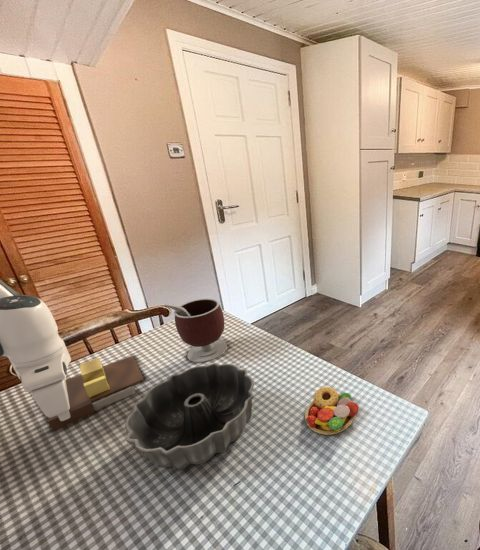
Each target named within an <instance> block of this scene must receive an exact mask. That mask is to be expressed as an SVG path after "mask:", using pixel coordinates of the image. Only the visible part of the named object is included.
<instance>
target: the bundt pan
mask: <svg viewBox="0 0 480 550" xmlns="http://www.w3.org/2000/svg"><path fill="white" fill-rule="evenodd" d="M254 387H255V381H254V379H253V377H252V376H250V375H249V374H248V370H247V369H245V368H240V367H239V366H238V365H236V364H233V363H223V364H219V363H217V362H213V363H210V364H208V365H196V366H192V367H190V368H187V369H185V370H183V371H182V372H180V373H175V374H172V375H170V376H169V377H168V378H167V379H166V380H164V381H162V382H160V383H158V384H156V385H154V386H153V387H151V388H150V389H149V390H147V392H146V393H145V394H144V395H143V397H142V399H141V400H139V401H137V402H136V403H134V404H133V406H132V410H133V411H132V412H131V413H130V414H129V415H128V416H127V418H126V420H125V422H124V430H125V431H126V433H128V434H127V436H126V439H125V441H126V442H127V444H131V445H132V446H133V447H134V448H135V449H136V450H137V452H138V453H139V454H140V456H142V457H143V458H145V459H148V460H149V461H150V462H151V463H152V464H153V465H155V466H156V467H159V468H171V467H174V468H175V469H177V470H180V471H181V470H183V469H185V468H187V467H188V466H189V465H190V464H192V465H200V464H204V463H206V462H208V461H209V460H211V458H213V456H214V455H216V454H217V453H225V452H226V451H227V448H228V447H229V445H230V443H232V442H234V441H236V440H237V439H239V438H240V437H241V435H242V434H243V432H244V430H245V427H246V424H248V422H249V421H250V420H251V419H252V414H253V398H254V397H255V396H254V392H253V389H254Z"/></svg>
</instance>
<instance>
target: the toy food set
mask: <svg viewBox="0 0 480 550" xmlns="http://www.w3.org/2000/svg"><path fill="white" fill-rule="evenodd" d="M359 410H360V408H359V405H358V403H357V402H355V401H352V395H351V394H350V393H349V392H343V393H338V392H337V390H336V389H335V388H334V387H331V386H323V387H320V388H319V389H317V390H316V391H315V393H314V394H313V400H312V401H311V402H310V403H309V405H308V406H307V407H306V410H305V413H304V421H305V423H306V425H307V426H308V428H309V429H310V430H312V431H313V432H315V433H317V434H319V435H325V436H326V435H328V436H331V435H336V434H339V433H342V432H343V431H345V430H347V429H348V428H349V427H350V426H351V425H352V423H353V422H354V420H355V418H356V415H357V414H358V413H359Z"/></svg>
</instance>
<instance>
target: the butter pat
mask: <svg viewBox="0 0 480 550" xmlns="http://www.w3.org/2000/svg"><path fill="white" fill-rule="evenodd" d="M84 387H85V390H86V392H87V394H88V396H89V398H90V397H92V396H94V395H97V394H99V393H102V392H104V391H106V390H109V389H110V388H109V385H108V383H107V381H106V378H105V376H102V377H99V378H97V379H94V380H91V381H89V382H86V383H84Z"/></svg>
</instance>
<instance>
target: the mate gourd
mask: <svg viewBox="0 0 480 550" xmlns="http://www.w3.org/2000/svg"><path fill="white" fill-rule="evenodd" d="M164 308H169V309H172V310H174V312H173V313H174V314H173V315H174V325H175V329H176V331H177V334H178V336H179V337H180V340H181V341H182V342H184V343H185V344H187V345H189V346H191V348H190V349H189V351H188V353H187V359H188V360H189V361H190V362H193V363H204V362H205V363H206V362H210V361H212V360H215V359H217V358H220V357H221V356H222V355H223V354H224V353H225V352H227V349H228V344H227V342H226V341H224V340H222V339H220V338H221V336H222V335H223V333H224V331H225V316H224V312H223V309H222V306H221V305H220V302H219V301H218V300H217V299H214V298H199V299H194V300H189V301H187V302H184V303H182V304H180V305H176V304H168V303H167V304H166V303H165V304H164Z"/></svg>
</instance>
